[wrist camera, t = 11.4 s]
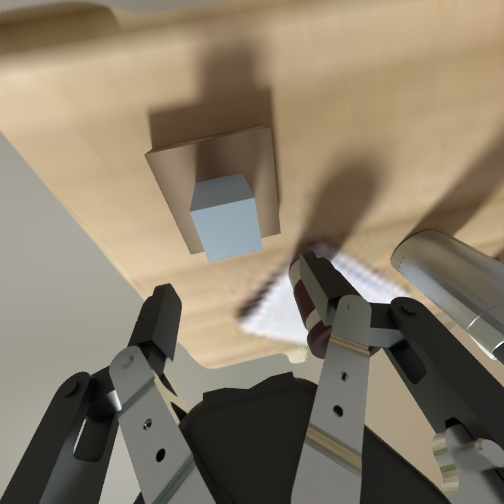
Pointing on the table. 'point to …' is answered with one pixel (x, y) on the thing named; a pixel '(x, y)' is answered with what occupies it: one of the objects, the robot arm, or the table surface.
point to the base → (218, 175)
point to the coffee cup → (315, 315)
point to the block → (225, 217)
